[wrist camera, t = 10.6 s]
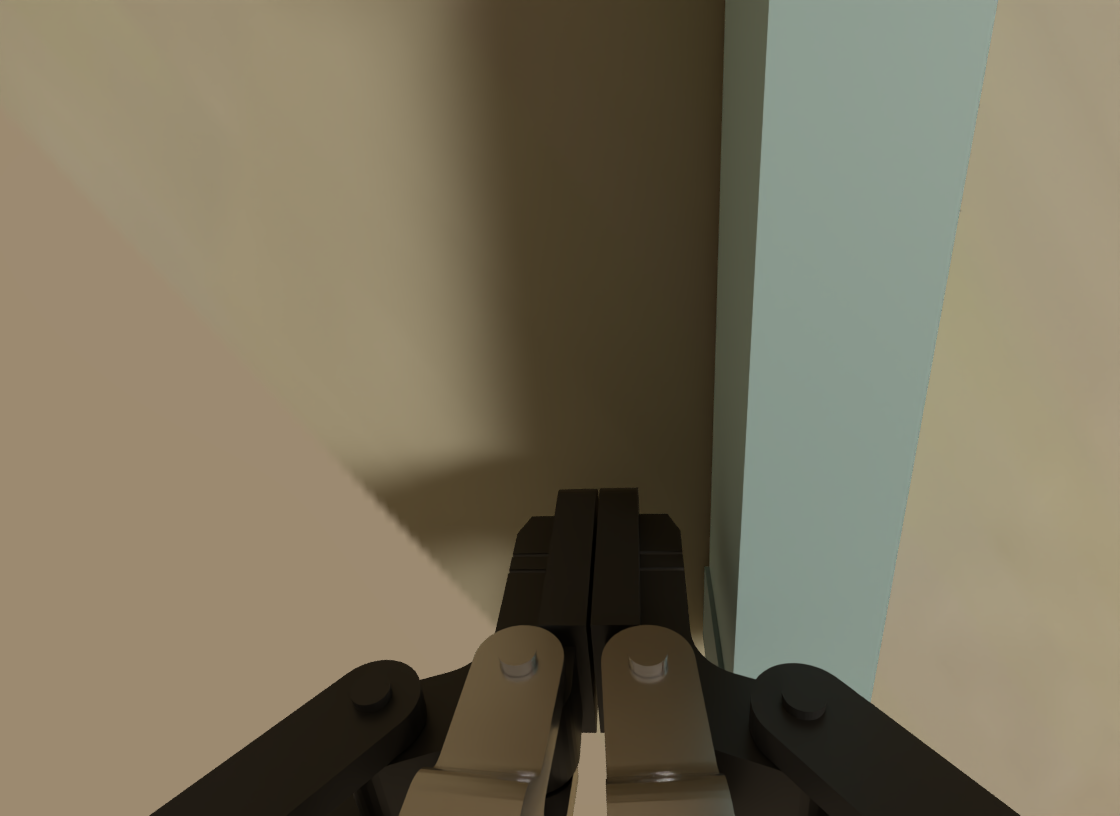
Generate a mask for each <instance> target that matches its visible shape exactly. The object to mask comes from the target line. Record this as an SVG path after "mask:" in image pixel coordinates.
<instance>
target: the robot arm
mask: <svg viewBox="0 0 1120 816" xmlns="http://www.w3.org/2000/svg"><path fill="white" fill-rule="evenodd" d="M509 570H510V573H509V574H508V578H507V582H506V587H505V591H504V596H503V600H502V605H501V609H500V613H499V618H498V622H497V627H496V631H495V633H494V634H493V635H491V636H490V637H488V638H487V639H486V640H485V641H484V642H483V643H482V644H481V645H480V647H479V648H478V649H477V651H476V654H475V655H474V658H473V661H472V662H471V663H469V664H468V665H466V666H464V667H462V668H460V669H457V670H454V671H452V672H448V673H445V674H441V675H437V676H433V677H429V678H426V679H422V680H419V677H418V675H417V673H416V672H415V671H414V670H413V669H412V668H411V667H410V666H408V665H407V664H404V663H402V662H398V661H394V660H381V661H375V662H370V663H367V664H364V665H362V666H360V667H358V668H355V669H354V670H352V671H351V672H349V673H347V674H346V675H345V676H343V677H342V678H341V679H339V680H338V681H336V682H335V683H333V684H332V685H331V686H329V687H328V688H327V689H325V690H324V691H322V692H321V693H319V694H318V695H317V696H315V697H314V698H313V699H311V700H310V701H308V702H307V703H306V704H305V705H303V706H301V707H300V708H299V709H297V710H296V711H294V712H293V713H292V714H290V715H289V716H288V717H286V718H285V719H283V720H282V721H280V722H279V723H278V724H276V725H275V726H274V727H272V728H271V729H269V730H268V731H267V732H265V733H264V734H263V735H261V736H260V737H258V738H257V739H255V740H254V741H253V742H251V743H250V744H249V745H247V746H246V747H244V748H243V749H242V750H240V751H239V752H237V753H236V754H235V755H233V756H232V757H230V758H229V759H228V760H226V761H225V762H223V763H222V764H221V765H219V766H218V767H216V768H215V769H214V770H212V771H211V772H209V773H208V774H207V775H205V776H204V777H203V778H201V779H200V780H198V781H197V782H196V783H194V784H193V785H191V786H190V787H189V788H187V789H186V790H184V791H183V792H182V793H180V794H179V795H177V796H176V797H175V798H173V799H172V800H170V801H169V802H168V803H166V804H165V805H164V806H162V807H161V808H159V809H158V810H157V811H155V812H154V813H152V814H151V815H150V816H573V812H574V804H575V798H576V792H577V785H578V767H577V766H578V763H579V758H580V746H581V733H583V732H584V733H596V732H597V712H598V710H599V721H600V731H601V733H605V751H606V772H607V779H606V801H607V816H1020V815H1019V814H1018V813H1016V812H1015V811H1014V810H1012V809H1011V808H1010V807H1008V806H1007V805H1006V804H1004V803H1003V802H1002V801H1000V800H999V799H998V798H996V797H995V796H994V795H993V794H991V793H990V792H989V791H987V790H986V789H985V788H983V787H982V786H981V785H979V784H978V783H977V782H975V781H974V780H973V779H971V778H970V777H969V776H967V775H966V774H965V773H963V772H962V771H961V770H959V769H958V768H957V767H955V766H954V765H953V764H951V763H950V762H949V761H947V760H946V759H945V758H943V757H942V756H941V755H939V754H938V753H937V752H935V751H934V750H933V749H931V748H930V747H929V746H927V745H926V744H925V743H923V742H922V741H921V740H919V739H918V738H917V737H915V736H914V735H913V734H911V733H910V732H909V731H907V730H906V729H905V728H903V727H902V726H901V725H899V724H898V723H897V722H895V721H894V720H893V719H891V718H890V717H889V716H887V715H886V714H885V713H883V712H882V711H881V710H879V709H878V708H877V707H875V706H874V705H873V704H871V703H870V702H869V701H867V700H866V699H865V698H864V697H862V696H861V695H860V694H858V693H857V692H856V691H854V690H853V689H852V688H850V687H849V686H848V685H846V684H845V683H844V682H842V681H841V680H840V679H838V678H837V677H835V676H834V675H832V674H831V673H829V672H827V671H825V670H823V669H821V668H818V667H815V666H812V665H807V664H801V663H785V664H779V665H776V666H773V667H770V668H769V669H767V670H765V671H764V672H762V673H761V674H760V675H759V676H758V677H757V679H753V678H749V677H746V676H742V675H739V674H735V673H732V672H729V671H726V670H724V669H722V668H720V667H718V666H716V665H714V664H713V663H711V662H710V661H708V660H707V659H706V658H705V657H704V656H703V655H702V654H701V653H700V652H699V651H698V649H697V648H696V646H695V645H694V642H693V640H692V638H691V633H690V624H689V614H688V604H687V594H686V584H685V574H684V563H683V555H682V543H681V533H680V530H679V528H678V527H677V526H676V525H675V523H674V522H673V521H672V519H671V518H670V517H669V515H668V514H639V496H638V488H601V489H600V493H599V497H598V490H597V489H568V490H559V492H558V498H557V504H556V510H555V516H537V517H531V519H530V520H529V521H528V522H527V523H526V524H525V526H524V527H523V528H522V529H521V530H520V532H519V533H518V534H517V538H516V543H515V547H514V551H513V557H512V560H511V565H510V569H509Z"/></svg>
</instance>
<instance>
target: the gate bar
mask: <svg viewBox="0 0 1120 816" xmlns="http://www.w3.org/2000/svg"><path fill="white" fill-rule="evenodd" d="M997 3H998V0H725V35H724V70H723V105H722V140H721V175H720V210H719V245H718V280H717V315H716V350H715V385H714V420H713V455H712V490H711V526H710V561H709V566H705V571H704V612H703V640H704V648H705V657H706V659H707V660H708V661H710V662H711V663H713V664H714V665H716V666H718V667H720V668H722V669H724V670H726V671H729V672H732V673H735V674H739V675H742V676H746V677H749V678H753V679H757V677H758V676H759V675H760V674H761V673H762V672H764V671H765V670H767V669H769V668H770V667H773V666H776V665H779V664H785V663H801V664H807V665H812V666H815V667H818V668H821V669H823V670H825V671H827V672H829V673H831V674H832V675H834V676H835V677H837V678H838V679H840V680H841V681H842V682H844V683H845V684H846V685H848V686H849V687H850V688H852V689H853V690H854V691H856V692H857V693H858V694H860V695H861V696H862V697H864V698H865V699H866V700H867V701H869V702H871V697H872V691H873V686H874V680H875V675H876V669H877V664H878V658H879V653H880V647H881V642H882V636H883V631H884V625H885V620H886V614H887V609H888V603H889V598H890V592H891V587H892V581H893V576H894V570H895V564H896V559H897V553H898V548H899V542H900V537H901V531H902V526H903V520H904V515H905V509H906V504H907V498H908V493H909V487H910V482H911V476H912V471H913V465H914V460H915V454H916V449H917V443H918V438H919V432H920V427H921V421H922V416H923V410H924V405H925V399H926V394H927V388H928V383H929V377H930V372H931V366H932V361H933V355H934V350H935V344H936V339H937V333H938V328H939V322H940V317H941V311H942V306H943V300H944V295H945V289H946V284H947V278H948V273H949V267H950V262H951V256H952V251H953V245H954V240H955V234H956V229H957V223H958V218H959V212H960V207H961V201H962V196H963V190H964V185H965V179H966V174H967V168H968V163H969V157H970V152H971V146H972V140H973V135H974V129H975V124H976V118H977V113H978V107H979V102H980V96H981V91H982V85H983V80H984V74H985V69H986V63H987V58H988V52H989V47H990V41H991V36H992V30H993V25H994V19H995V14H996V8H997Z"/></svg>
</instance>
